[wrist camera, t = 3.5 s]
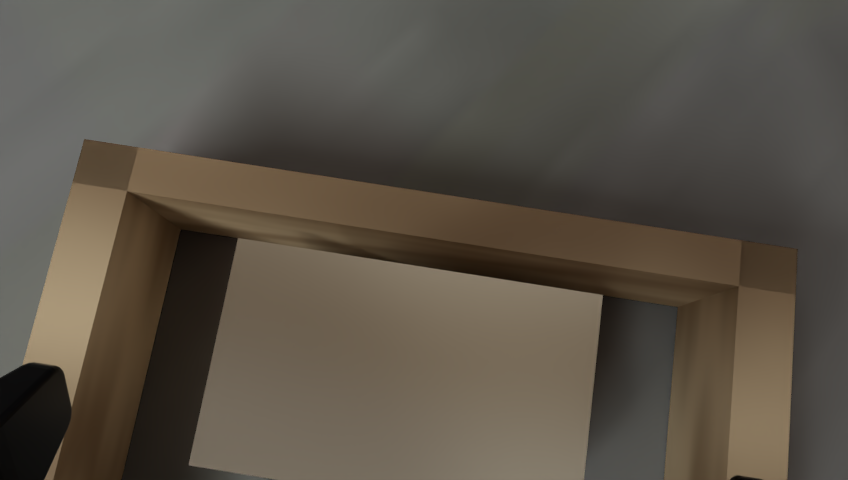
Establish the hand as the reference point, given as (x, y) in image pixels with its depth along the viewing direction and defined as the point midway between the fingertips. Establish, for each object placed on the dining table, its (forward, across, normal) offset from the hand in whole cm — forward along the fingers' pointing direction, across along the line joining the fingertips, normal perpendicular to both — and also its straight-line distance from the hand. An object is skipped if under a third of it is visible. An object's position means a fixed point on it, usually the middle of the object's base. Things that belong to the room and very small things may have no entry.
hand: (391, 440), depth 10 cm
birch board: (+7, 0, +6) cm, 9 cm away
